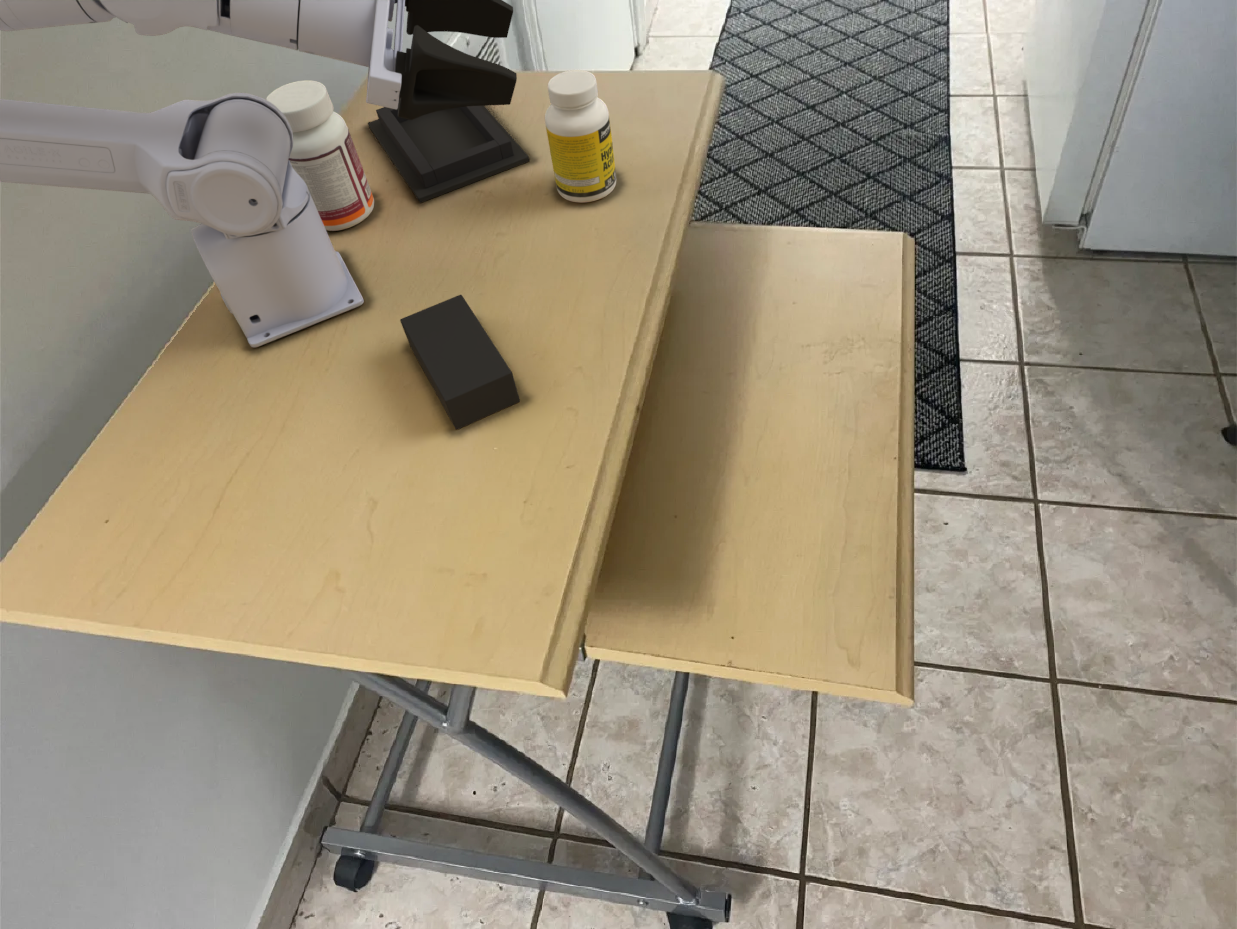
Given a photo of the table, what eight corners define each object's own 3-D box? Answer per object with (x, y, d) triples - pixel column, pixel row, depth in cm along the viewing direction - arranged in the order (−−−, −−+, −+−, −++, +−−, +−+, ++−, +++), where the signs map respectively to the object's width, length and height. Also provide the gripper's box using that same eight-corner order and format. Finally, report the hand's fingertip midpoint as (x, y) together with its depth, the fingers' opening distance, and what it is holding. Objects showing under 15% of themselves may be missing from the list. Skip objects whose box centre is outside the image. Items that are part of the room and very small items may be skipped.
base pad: (530, 161, 84) (526, 141, 83) (420, 203, 82) (413, 184, 80) (468, 91, 94) (464, 72, 92) (368, 127, 92) (362, 108, 90)
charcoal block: (520, 401, 65) (512, 372, 62) (456, 430, 64) (445, 401, 61) (470, 323, 71) (461, 293, 68) (410, 348, 70) (399, 318, 67)
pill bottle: (337, 187, 85) (290, 71, 76) (389, 199, 83) (347, 81, 74) (295, 226, 82) (241, 109, 73) (348, 239, 80) (299, 120, 71)
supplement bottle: (617, 202, 79) (603, 95, 71) (555, 207, 79) (535, 102, 72) (618, 166, 82) (605, 61, 75) (559, 172, 83) (540, 68, 75)
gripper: (293, 10, 51) (529, 67, 55) (316, -119, 59) (521, -60, 63) (289, 115, 56) (504, 160, 61) (310, -16, 64) (499, 32, 68)
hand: (511, 54), depth 62 cm, fingers open, 7 cm apart
